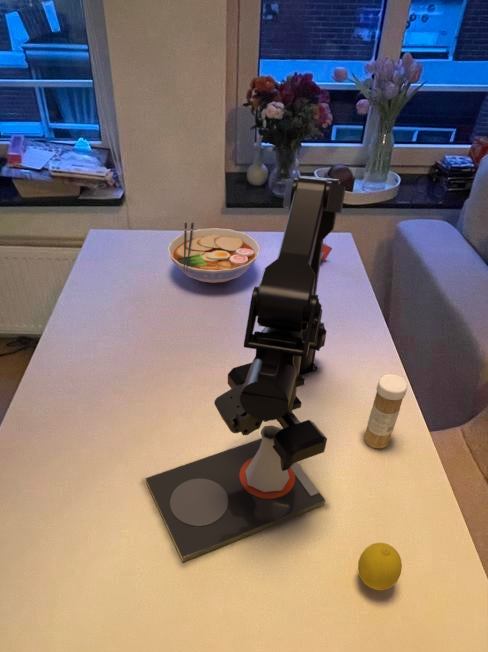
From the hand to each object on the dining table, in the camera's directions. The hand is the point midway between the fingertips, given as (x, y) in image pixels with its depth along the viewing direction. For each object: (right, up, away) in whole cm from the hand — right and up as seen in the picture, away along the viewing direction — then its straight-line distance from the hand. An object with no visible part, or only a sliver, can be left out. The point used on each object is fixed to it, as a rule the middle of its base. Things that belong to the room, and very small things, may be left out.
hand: (269, 448), depth 80 cm
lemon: (+14, -18, -7) cm, 24 cm away
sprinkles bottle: (+20, +1, +13) cm, 24 cm away
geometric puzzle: (+18, +47, +60) cm, 78 cm away
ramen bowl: (-10, +41, +54) cm, 69 cm away
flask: (0, -5, +5) cm, 7 cm away
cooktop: (-5, -7, +4) cm, 10 cm away
